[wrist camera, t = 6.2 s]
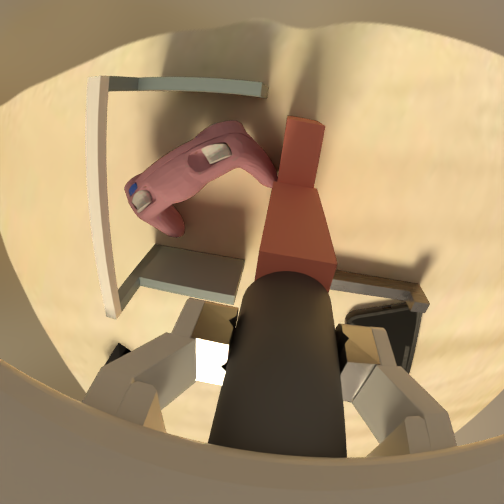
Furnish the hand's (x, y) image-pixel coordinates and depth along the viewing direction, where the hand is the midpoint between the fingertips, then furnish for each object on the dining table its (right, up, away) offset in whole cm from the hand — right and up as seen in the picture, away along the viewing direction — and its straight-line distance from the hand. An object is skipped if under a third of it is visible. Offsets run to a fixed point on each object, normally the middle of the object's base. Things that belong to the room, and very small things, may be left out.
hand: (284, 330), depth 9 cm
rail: (+7, 0, +16) cm, 17 cm away
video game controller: (-4, +8, +13) cm, 16 cm away
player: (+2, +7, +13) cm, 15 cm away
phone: (+13, -9, +21) cm, 26 cm away
